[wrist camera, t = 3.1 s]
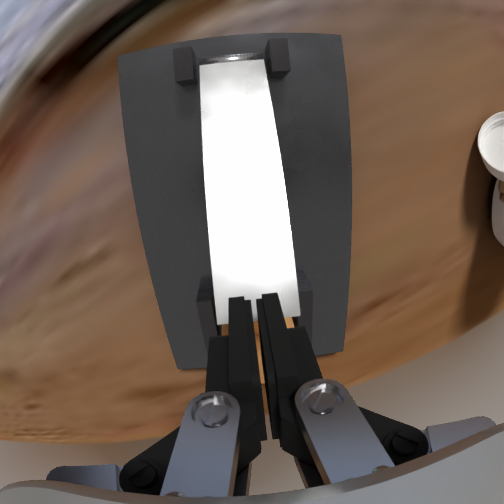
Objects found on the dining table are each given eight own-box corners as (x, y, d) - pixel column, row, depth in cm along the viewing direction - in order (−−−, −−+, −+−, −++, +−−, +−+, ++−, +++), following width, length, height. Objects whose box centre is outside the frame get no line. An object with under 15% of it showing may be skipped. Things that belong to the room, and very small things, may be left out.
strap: (261, 59, 16) (261, 49, 15) (297, 314, 14) (301, 316, 13) (201, 65, 16) (199, 55, 15) (219, 322, 14) (217, 324, 13)
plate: (333, 40, 16) (351, 26, 13) (338, 340, 26) (349, 366, 23) (125, 60, 16) (105, 49, 13) (180, 357, 26) (174, 386, 22)
